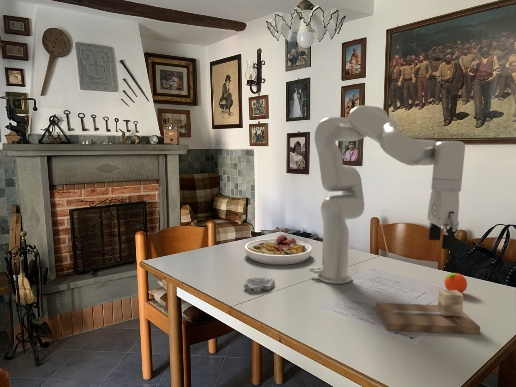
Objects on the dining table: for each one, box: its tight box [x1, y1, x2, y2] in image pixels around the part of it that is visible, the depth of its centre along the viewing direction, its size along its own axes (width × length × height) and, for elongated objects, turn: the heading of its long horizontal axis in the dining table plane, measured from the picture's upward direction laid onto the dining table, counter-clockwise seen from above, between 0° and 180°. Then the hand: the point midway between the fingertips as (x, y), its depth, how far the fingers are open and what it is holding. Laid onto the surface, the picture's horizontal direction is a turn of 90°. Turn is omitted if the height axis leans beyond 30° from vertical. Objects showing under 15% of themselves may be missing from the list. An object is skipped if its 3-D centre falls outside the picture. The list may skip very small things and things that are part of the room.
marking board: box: [375, 302, 481, 335], centre depth 109 cm, size 24×14×2 cm, turn 86°
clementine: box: [444, 272, 468, 294], centre depth 131 cm, size 8×7×7 cm
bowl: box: [244, 234, 312, 266], centre depth 174 cm, size 30×30×8 cm
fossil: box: [243, 276, 276, 294], centre depth 135 cm, size 11×4×10 cm
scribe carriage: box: [437, 289, 464, 316], centre depth 108 cm, size 6×4×6 cm
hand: (440, 244), depth 110 cm, fingers open, 9 cm apart
